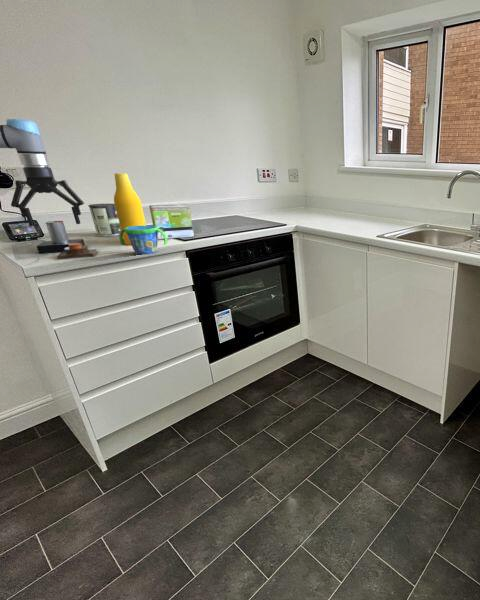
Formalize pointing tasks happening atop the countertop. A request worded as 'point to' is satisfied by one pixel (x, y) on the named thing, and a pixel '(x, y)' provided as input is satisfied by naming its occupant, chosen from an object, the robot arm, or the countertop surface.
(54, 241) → the dial
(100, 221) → the coffee can
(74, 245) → the button
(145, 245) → the snack cup
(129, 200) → the beer bottle
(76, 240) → the control panel
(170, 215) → the tea box
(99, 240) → the countertop surface
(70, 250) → the button block
